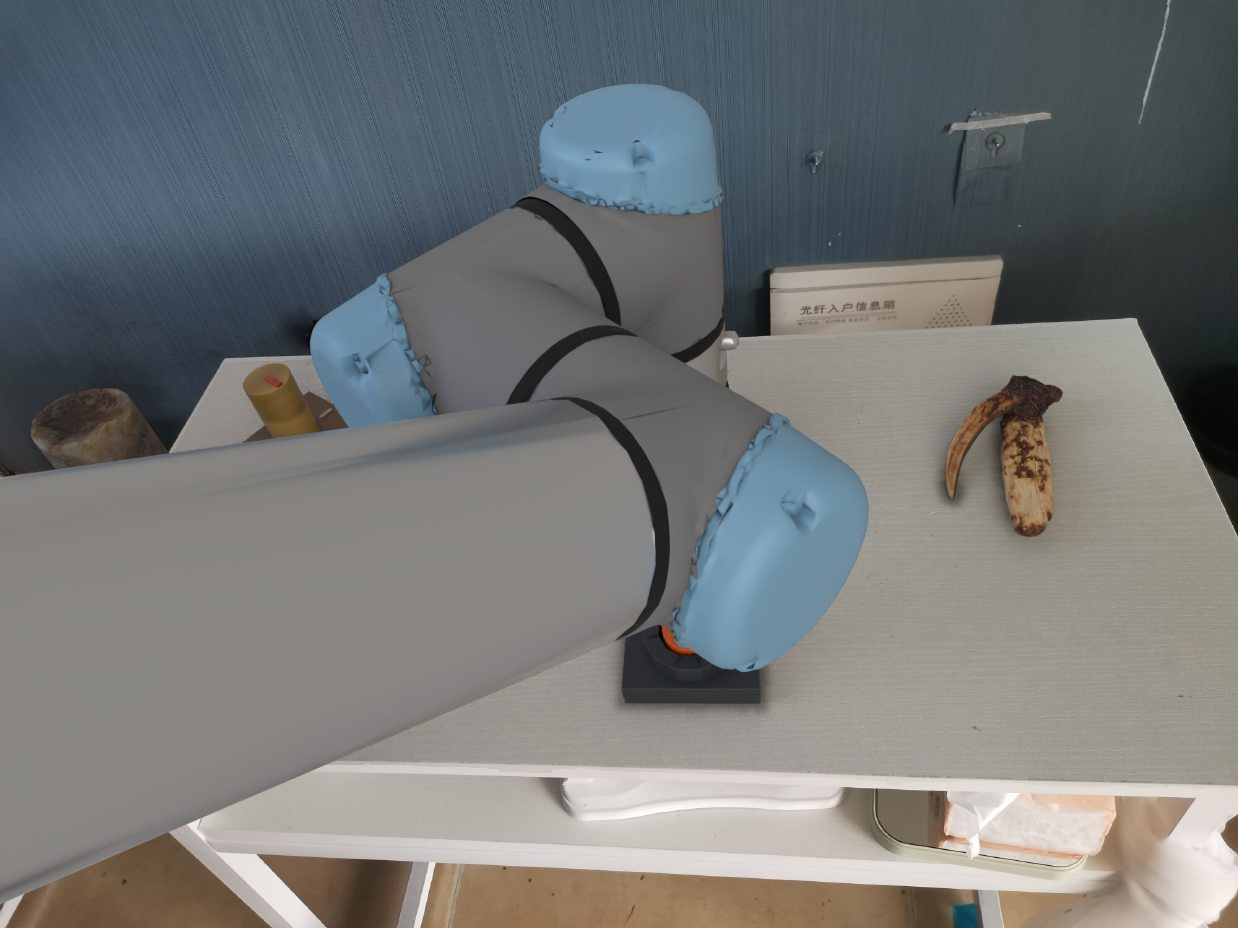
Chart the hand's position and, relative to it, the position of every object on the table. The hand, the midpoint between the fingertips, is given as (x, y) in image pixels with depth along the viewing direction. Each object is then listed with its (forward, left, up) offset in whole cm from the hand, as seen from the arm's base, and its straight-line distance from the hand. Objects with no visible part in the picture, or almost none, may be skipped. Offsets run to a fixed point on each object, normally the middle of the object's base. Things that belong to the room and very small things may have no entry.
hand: (689, 623), depth 65 cm
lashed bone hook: (+30, -12, -5) cm, 33 cm away
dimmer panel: (-2, +45, -5) cm, 45 cm away
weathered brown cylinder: (-17, +42, -5) cm, 46 cm away
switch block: (0, 0, -5) cm, 5 cm away
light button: (0, 0, -2) cm, 2 cm away
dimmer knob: (-2, +45, -1) cm, 45 cm away
